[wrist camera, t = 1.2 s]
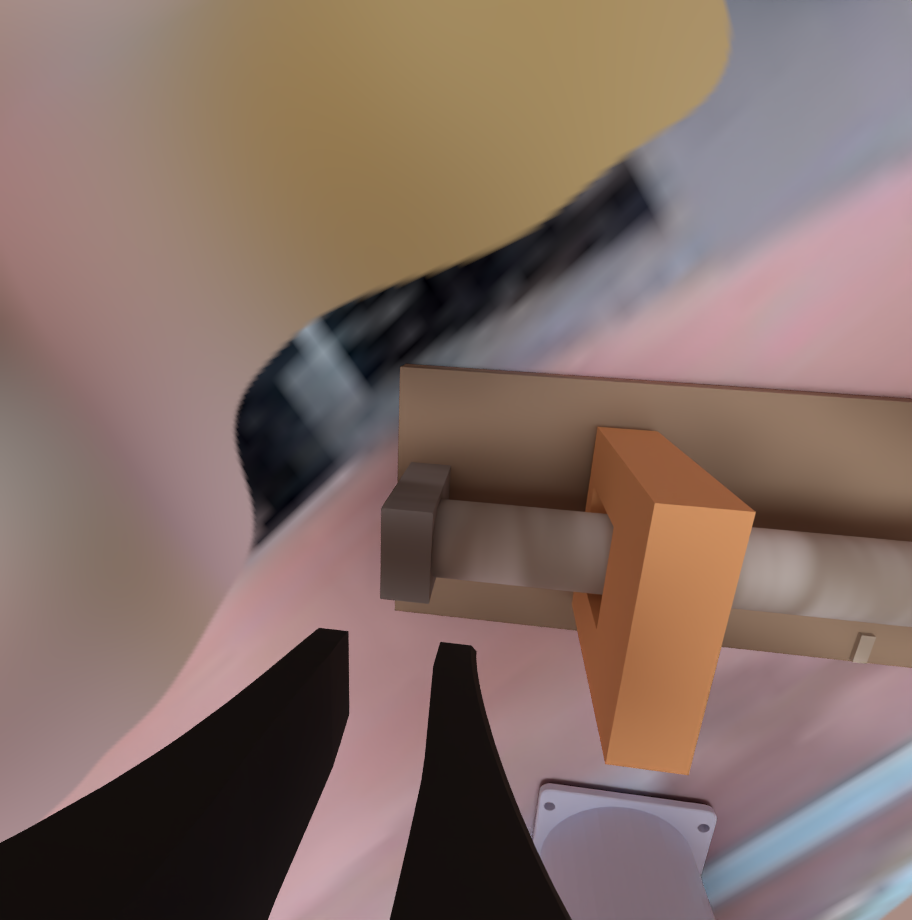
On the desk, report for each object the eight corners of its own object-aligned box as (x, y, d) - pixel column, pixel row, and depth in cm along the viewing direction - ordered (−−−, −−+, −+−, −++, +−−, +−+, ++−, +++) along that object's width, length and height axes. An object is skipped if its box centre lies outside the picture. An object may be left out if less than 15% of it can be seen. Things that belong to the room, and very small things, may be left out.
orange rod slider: (624, 610, 19) (688, 775, 12) (571, 604, 19) (605, 763, 12) (657, 431, 17) (755, 512, 10) (597, 426, 17) (655, 503, 10)
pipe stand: (1055, 668, 19) (1259, 802, 14) (399, 596, 21) (364, 690, 16) (1182, 417, 16) (1501, 468, 11) (405, 363, 18) (364, 385, 13)
